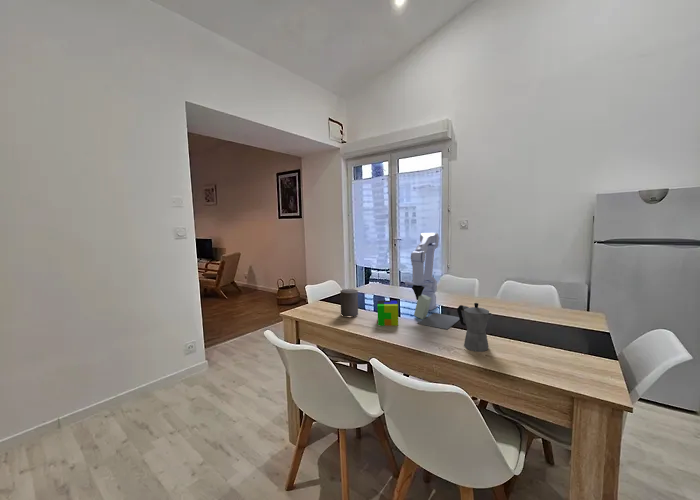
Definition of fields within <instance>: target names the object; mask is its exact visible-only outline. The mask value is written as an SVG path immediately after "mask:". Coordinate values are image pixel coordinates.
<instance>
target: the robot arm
mask: <svg viewBox="0 0 700 500" xmlns="http://www.w3.org/2000/svg"><path fill="white" fill-rule="evenodd" d="M419 241H420V243H419V244H417V246H416V248H415V249H414V250H413V251H411V253H410V263H411V266H412V268H411V269H412V280H405V281H404V285H405V286H412V287H411V289H412V290H413V293H414V295H415V299H416V301H418V297H419V296H421V295H426V296H428V297H430V298H431V302H430V306H429V310H428V311H433V310H434V309H436V308H438V305H437V295H436V292H437V288H438V284H437V283H438V281H437V279H436V278H435V277H434V276H433V271H434V270H433V269H434V261H435V260H434V258H435V251H436V249H438V248H439V242H440V241H439V233H438V232H421V233H420V236H419Z"/></svg>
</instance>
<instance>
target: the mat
mask: <svg viewBox="0 0 700 500" xmlns="http://www.w3.org/2000/svg"><path fill="white" fill-rule="evenodd" d="M458 322H460V319H459V316H454V315H449V314H443V313H437V312H433V313H431V314H430V315H427V317H426V318H424V319H421V320H420V321H418V322H417V325H422V326H426V327H432V328H435V329H441V330H445V331H446V330H449V329H450V328H452V327H453V326H454V325H455V324H457V323H458Z"/></svg>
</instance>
